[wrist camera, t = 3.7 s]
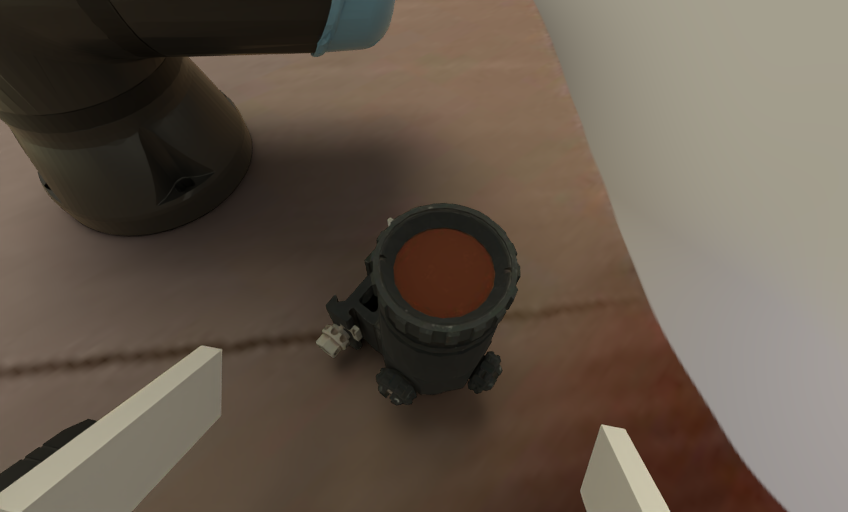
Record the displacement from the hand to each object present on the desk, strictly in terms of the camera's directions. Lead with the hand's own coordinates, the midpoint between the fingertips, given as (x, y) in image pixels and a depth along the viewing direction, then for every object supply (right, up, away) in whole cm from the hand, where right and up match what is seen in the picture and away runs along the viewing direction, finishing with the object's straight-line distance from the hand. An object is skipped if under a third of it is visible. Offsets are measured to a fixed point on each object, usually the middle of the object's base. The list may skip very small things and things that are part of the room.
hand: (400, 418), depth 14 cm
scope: (0, -1, +13) cm, 13 cm away
